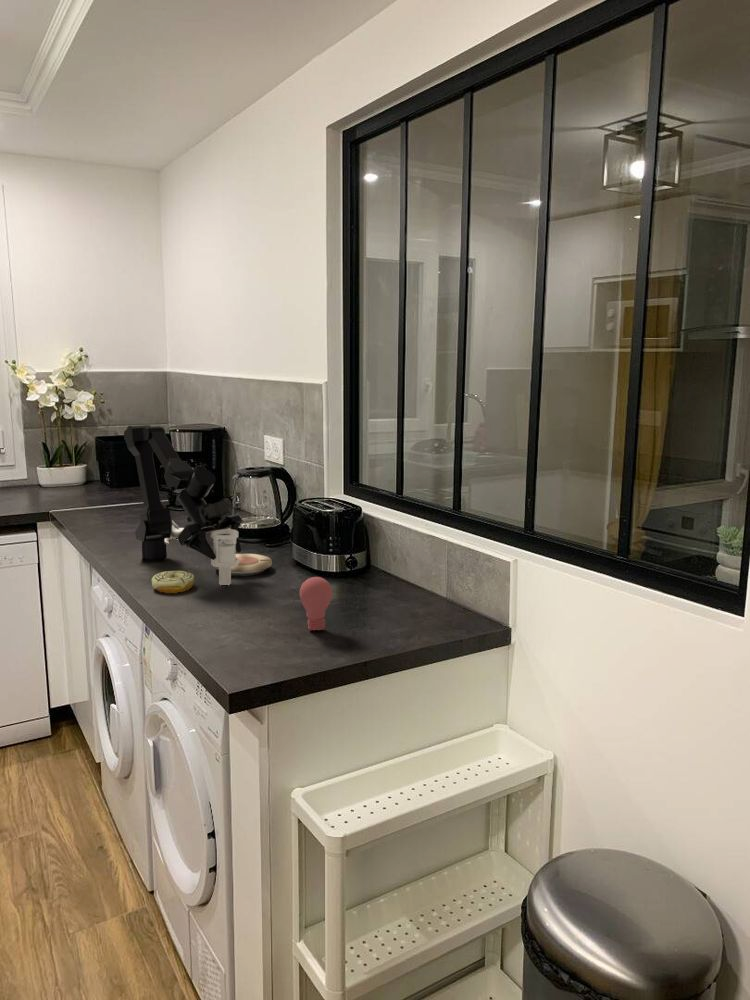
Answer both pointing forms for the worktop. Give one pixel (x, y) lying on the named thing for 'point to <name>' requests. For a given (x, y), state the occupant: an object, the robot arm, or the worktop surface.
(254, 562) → the turntable
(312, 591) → the light bulb
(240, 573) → the turntable base
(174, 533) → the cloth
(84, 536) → the worktop surface
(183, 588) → the decorated donut
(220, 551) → the strainer
